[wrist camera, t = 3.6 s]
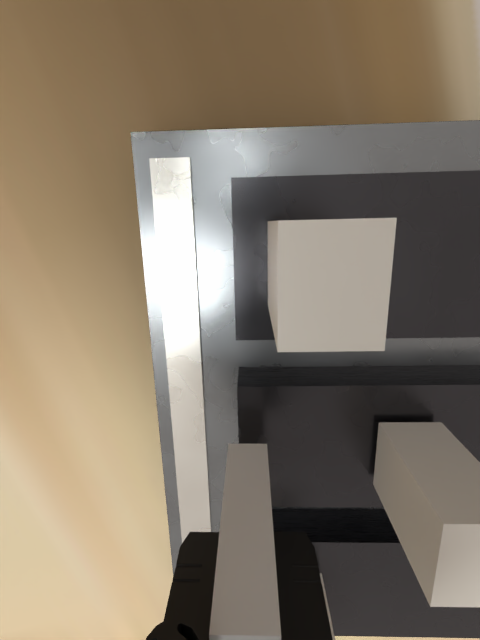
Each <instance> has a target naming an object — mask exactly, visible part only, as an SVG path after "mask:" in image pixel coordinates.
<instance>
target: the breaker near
mask: <svg viewBox="0 0 480 640" xmlns="http://www.w3.org/2000/svg"><path fill="white" fill-rule="evenodd" d="M396 221H397V218H361V219H321V220H280V221H268V308H269V313H270V318H271V323H272V328H273V333H274V337H275V342H276V347H277V352H341V351H385V341H386V330H387V319H388V309H389V298H390V287H391V276H392V265H393V254H394V243H395V232H396Z"/></svg>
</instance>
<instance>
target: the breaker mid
mask: <svg viewBox="0 0 480 640" xmlns="http://www.w3.org/2000/svg"><path fill="white" fill-rule="evenodd" d="M373 485H374V487H375V489H376V492H377V494H378V496H379V498H380V500H381V502H382V504H383V507H384V509H385V511H386V513H387V515H388V517H389V519H390V522H391V524H392V526H393V528H394V530H395V532H396V534H397V537H398V539H399V541H400V543H401V545H402V547H403V549H404V552H405V554H406V556H407V558H408V560H409V562H410V564H411V567H412V569H413V571H414V573H415V575H416V577H417V579H418V582H419V584H420V586H421V588H422V590H423V592H424V594H425V597H426V599H427V601H428V603H429V605H430V607H480V462H479V461H478V460H477V459H476V458H475V457H474V456H473V455H472V454H471V453H470V452H469V451H468V450H467V449H466V448H465V447H464V445H463V444H462V443H461V442H460V441H459V440H458V439H457V438H456V437H455V436H454V435H453V434H452V433H451V432H450V431H449V430H448V429H447V428H446V427H445V426H444V424H443V423H442V422H379V425H378V436H377V447H376V458H375V469H374V480H373Z"/></svg>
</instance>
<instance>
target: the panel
mask: <svg viewBox="0 0 480 640" xmlns="http://www.w3.org/2000/svg"><path fill="white" fill-rule="evenodd" d="M131 142H132V152H133V162H134V173H135V183H136V193H137V204H138V214H139V224H140V235H141V245H142V255H143V266H144V276H145V286H146V297H147V307H148V317H149V328H150V338H151V349H152V359H153V369H154V380H155V390H156V400H157V411H158V421H159V431H160V442H161V452H162V462H163V473H164V483H165V493H166V504H167V514H168V524H169V535H170V545H171V555H172V566H173V576H174V572H175V568H176V563H177V558H178V554H179V549H180V546H181V544H182V543H183V541H184V540H185V538H186V537H187V535H188V534H189V532H219V531H220V521H221V512H222V502H223V492H224V482H225V472H226V462H227V452H228V444H267V450H268V464H269V477H270V491H271V504H272V518H273V531H274V532H305V533H306V535H307V536H308V538H309V539H310V541H311V542H312V544H313V545H314V547H315V552H316V557H317V562H318V568H319V572H320V573H322V577H323V582H324V587H325V592H326V597H327V602H328V607H329V612H330V617H331V622H332V627H333V631H334V636H383V637H444V638H480V607H430V605H429V603H428V601H427V599H426V597H425V594H424V592H423V590H422V588H421V586H420V584H419V582H418V579H417V577H416V575H415V573H414V571H413V569H412V567H411V564H410V562H409V560H408V558H407V556H406V554H405V552H404V549H403V547H402V545H401V543H400V541H399V539H398V537H397V534H396V532H395V530H394V528H393V526H392V524H391V522H390V519H389V517H388V515H387V513H386V511H385V509H384V507H383V504H382V502H381V500H380V498H379V496H378V494H377V492H376V489H375V487H374V485H373V480H374V469H375V458H376V447H377V436H378V425H379V422H442V423H443V424H444V426H445V427H446V428H447V429H448V430H449V431H450V432H451V433H452V434H453V435H454V436H455V437H456V438H457V439H458V440H459V441H460V442H461V443H462V444H463V445H464V447H465V448H466V449H467V450H468V451H469V452H470V453H471V454H472V455H473V456H474V457H475V458H476V459H477V460H478V461H479V462H480V120H475V121H445V122H416V123H386V124H357V125H328V126H298V127H269V128H239V129H210V130H181V131H151V132H131ZM361 218H397V221H396V232H395V243H394V254H393V265H392V276H391V287H390V298H389V309H388V319H387V330H386V341H385V351H341V352H277V347H276V342H275V337H274V333H273V328H272V323H271V318H270V313H269V308H268V221H280V220H321V219H361Z"/></svg>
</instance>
